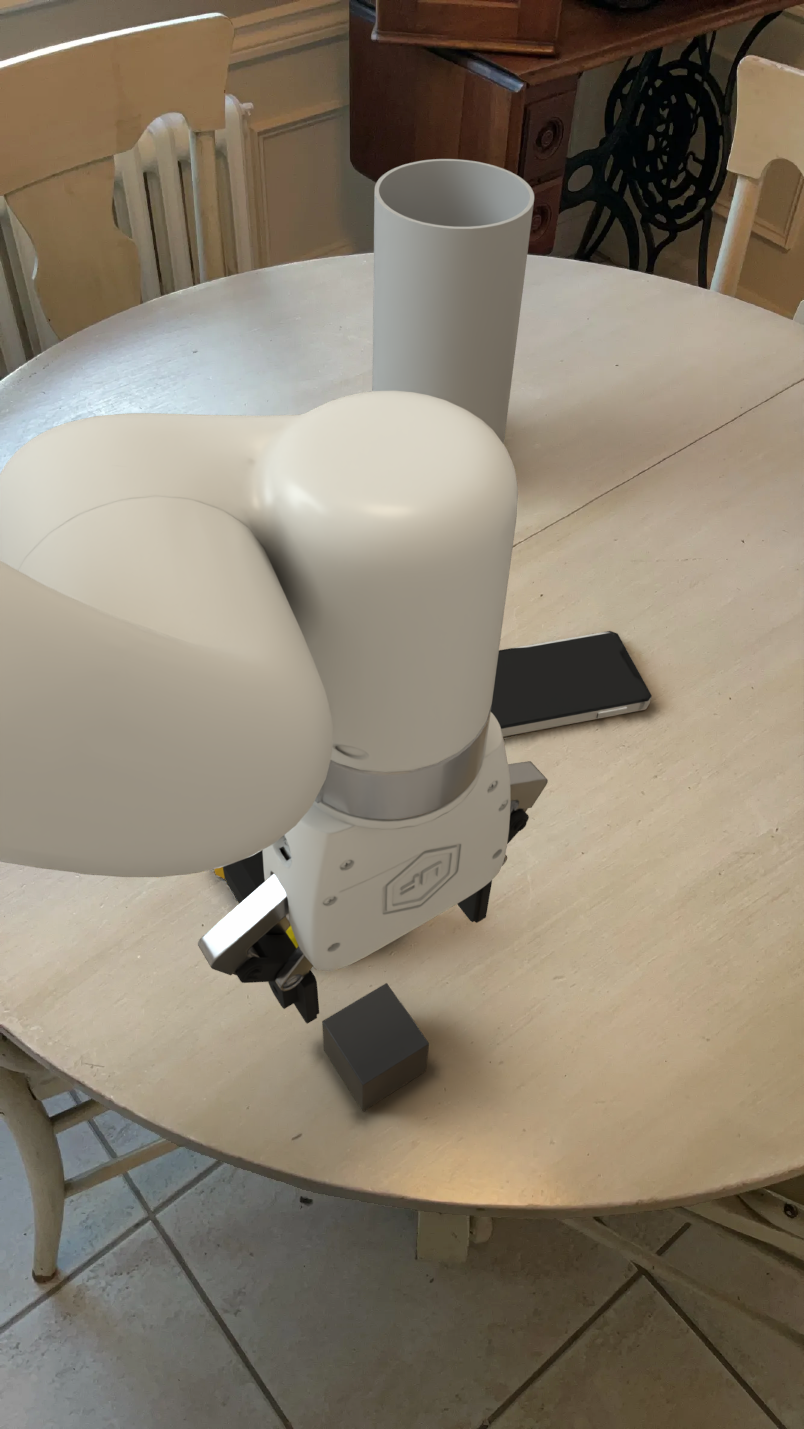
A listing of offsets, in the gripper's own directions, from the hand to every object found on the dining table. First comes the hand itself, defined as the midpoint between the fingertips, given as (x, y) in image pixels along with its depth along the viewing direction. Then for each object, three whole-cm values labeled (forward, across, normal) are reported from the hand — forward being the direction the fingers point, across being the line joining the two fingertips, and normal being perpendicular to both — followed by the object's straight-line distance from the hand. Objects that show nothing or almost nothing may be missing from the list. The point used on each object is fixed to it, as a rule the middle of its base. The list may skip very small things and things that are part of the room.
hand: (382, 946), depth 52 cm
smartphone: (+14, +27, +18) cm, 35 cm away
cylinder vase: (+14, +37, +47) cm, 61 cm away
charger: (+14, 0, 0) cm, 14 cm away
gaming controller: (+14, +2, +13) cm, 19 cm away
